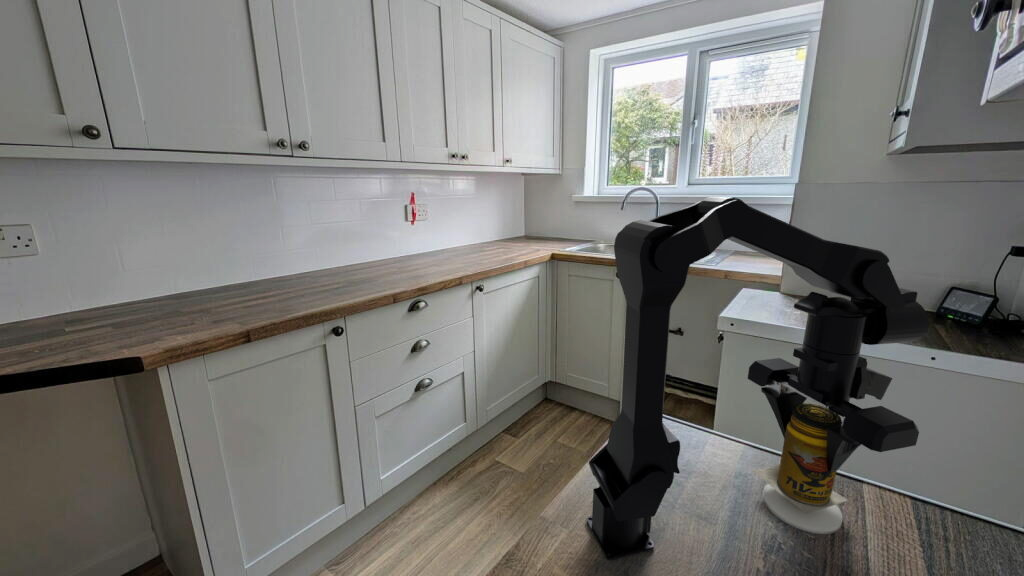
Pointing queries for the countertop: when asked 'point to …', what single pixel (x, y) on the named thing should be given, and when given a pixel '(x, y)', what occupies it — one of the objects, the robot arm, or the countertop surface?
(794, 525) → the coaster
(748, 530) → the countertop surface
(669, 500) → the countertop surface
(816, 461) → the condiment
